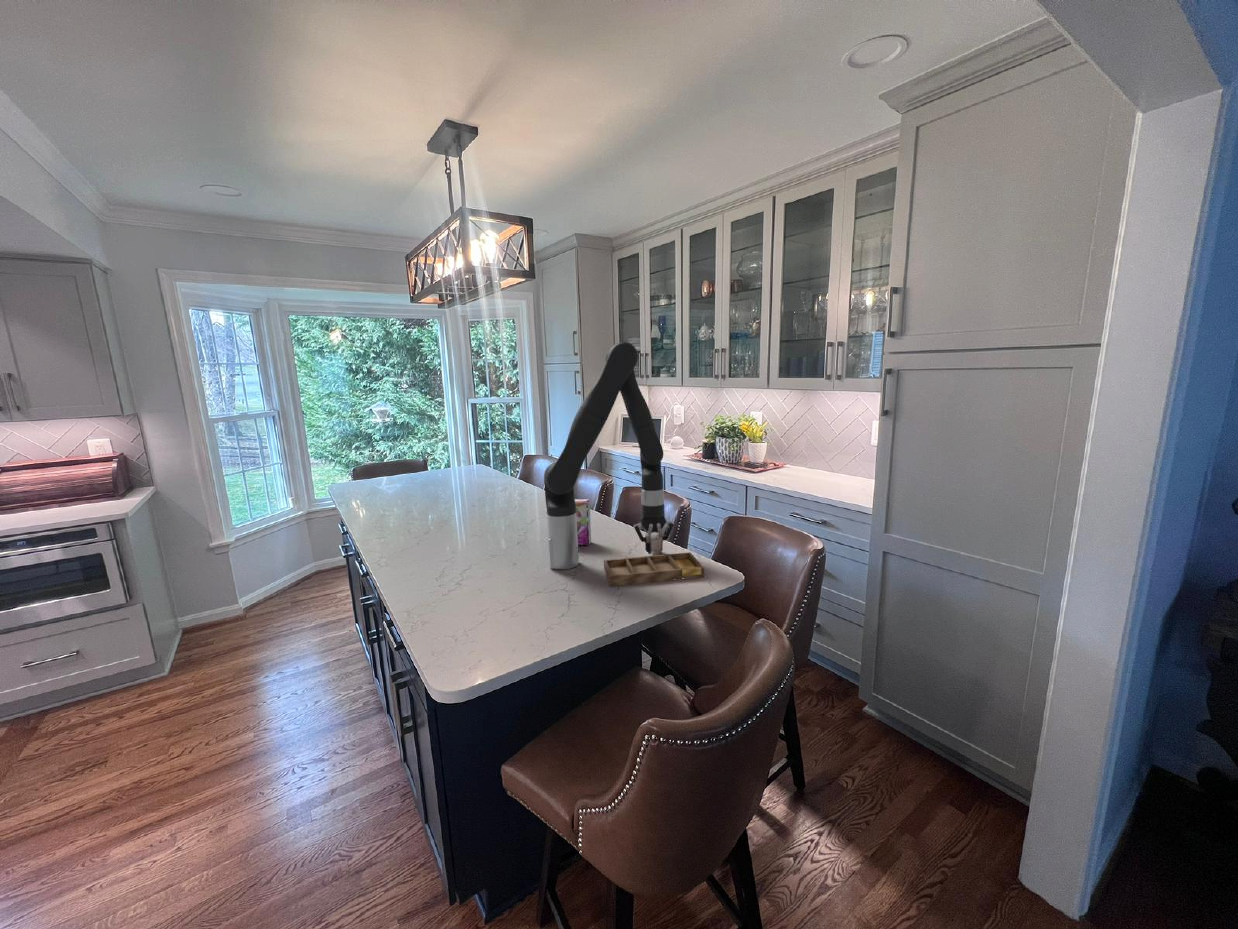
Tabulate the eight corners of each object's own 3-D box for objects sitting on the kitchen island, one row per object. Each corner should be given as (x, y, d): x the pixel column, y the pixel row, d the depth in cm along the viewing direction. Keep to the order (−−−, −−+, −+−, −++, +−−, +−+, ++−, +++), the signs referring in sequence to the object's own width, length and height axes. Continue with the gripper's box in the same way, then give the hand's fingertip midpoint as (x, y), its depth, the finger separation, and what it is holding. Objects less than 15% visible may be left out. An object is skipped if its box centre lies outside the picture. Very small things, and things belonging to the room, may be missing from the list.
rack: (610, 586, 142) (609, 576, 141) (604, 569, 155) (603, 560, 155) (704, 577, 146) (704, 567, 145) (690, 561, 160) (690, 552, 159)
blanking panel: (653, 561, 161) (652, 540, 160) (646, 551, 171) (646, 531, 170) (662, 560, 161) (661, 539, 160) (655, 550, 171) (654, 530, 170)
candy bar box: (559, 546, 179) (556, 502, 176) (562, 542, 184) (559, 499, 181) (589, 546, 178) (587, 501, 175) (591, 542, 183) (589, 498, 180)
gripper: (634, 506, 158) (635, 558, 161) (676, 503, 160) (677, 554, 163) (629, 501, 166) (631, 550, 169) (670, 498, 168) (671, 547, 171)
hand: (654, 552), depth 166 cm, fingers closed on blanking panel, 3 cm apart
